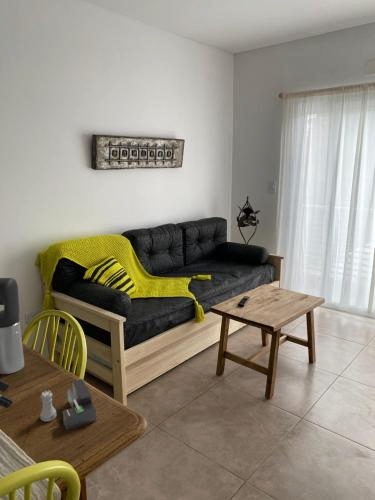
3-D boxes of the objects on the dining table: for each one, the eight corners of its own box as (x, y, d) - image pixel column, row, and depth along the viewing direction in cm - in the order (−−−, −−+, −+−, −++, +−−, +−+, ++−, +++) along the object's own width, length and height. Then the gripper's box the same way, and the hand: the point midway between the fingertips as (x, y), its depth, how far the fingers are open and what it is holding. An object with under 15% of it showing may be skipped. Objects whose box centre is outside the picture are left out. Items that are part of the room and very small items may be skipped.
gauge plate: (68, 399, 118) (67, 388, 117) (71, 398, 119) (70, 387, 118) (77, 420, 109) (76, 408, 108) (81, 419, 109) (80, 407, 108)
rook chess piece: (60, 415, 113) (57, 391, 111) (47, 424, 109) (45, 399, 107) (49, 410, 115) (47, 386, 113) (37, 419, 111) (34, 394, 110)
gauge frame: (56, 404, 118) (54, 386, 117) (83, 396, 122) (81, 379, 121) (66, 430, 107) (64, 411, 105) (96, 420, 111) (94, 402, 109)
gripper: (-36, 370, 92) (22, 398, 100) (-37, 345, 104) (14, 372, 112) (-59, 397, 90) (1, 423, 99) (-57, 368, 102) (-4, 394, 111)
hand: (8, 396), depth 105 cm, fingers open, 8 cm apart
